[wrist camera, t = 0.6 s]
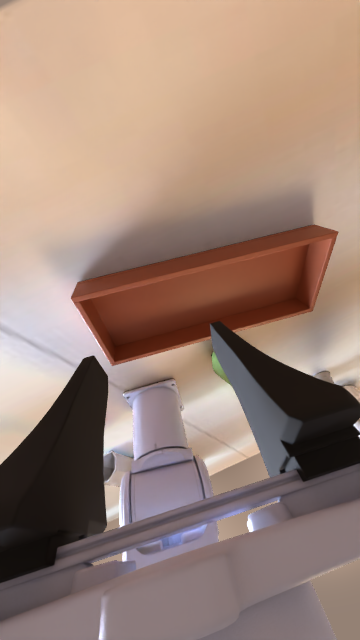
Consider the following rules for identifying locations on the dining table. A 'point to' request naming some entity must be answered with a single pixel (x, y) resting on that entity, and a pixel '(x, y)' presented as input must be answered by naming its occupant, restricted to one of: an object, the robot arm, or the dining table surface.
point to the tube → (115, 468)
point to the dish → (205, 293)
